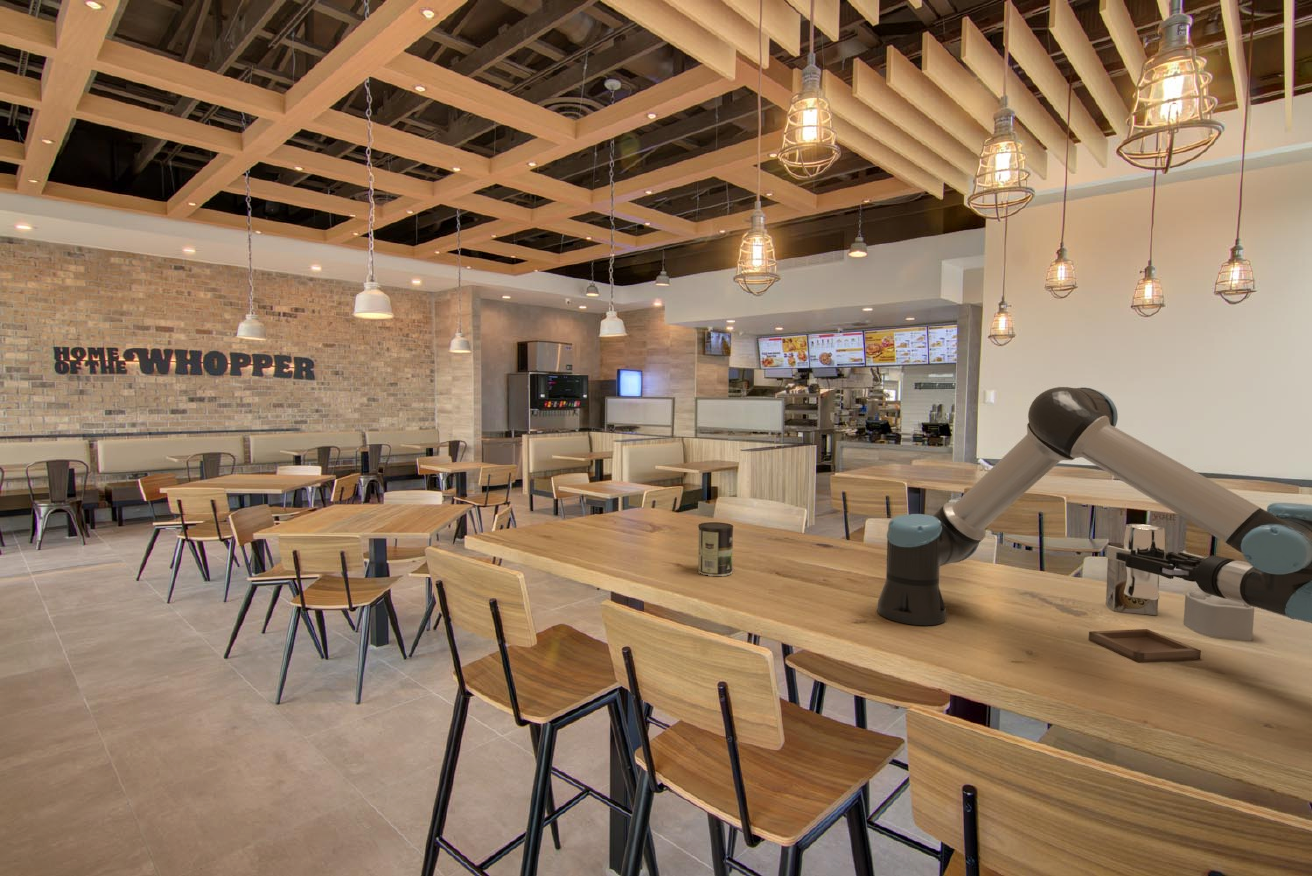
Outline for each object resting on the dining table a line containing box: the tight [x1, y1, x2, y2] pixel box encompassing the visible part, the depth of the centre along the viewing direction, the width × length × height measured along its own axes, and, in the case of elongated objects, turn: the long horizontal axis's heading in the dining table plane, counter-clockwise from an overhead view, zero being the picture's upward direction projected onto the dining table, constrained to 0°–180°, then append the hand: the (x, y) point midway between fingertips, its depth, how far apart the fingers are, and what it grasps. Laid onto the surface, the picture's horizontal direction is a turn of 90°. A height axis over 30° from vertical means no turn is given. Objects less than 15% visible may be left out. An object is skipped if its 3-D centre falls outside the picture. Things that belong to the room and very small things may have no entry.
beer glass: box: [1123, 523, 1166, 600], centre depth 136 cm, size 7×7×15 cm
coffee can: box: [697, 521, 734, 577], centre depth 187 cm, size 10×10×14 cm
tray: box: [1088, 628, 1202, 663], centre depth 131 cm, size 14×12×2 cm
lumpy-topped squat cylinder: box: [1183, 587, 1255, 642], centre depth 143 cm, size 10×13×9 cm
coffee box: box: [1105, 541, 1160, 616], centre depth 156 cm, size 9×6×16 cm
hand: (1122, 551), depth 140 cm, fingers closed on beer glass, 7 cm apart
